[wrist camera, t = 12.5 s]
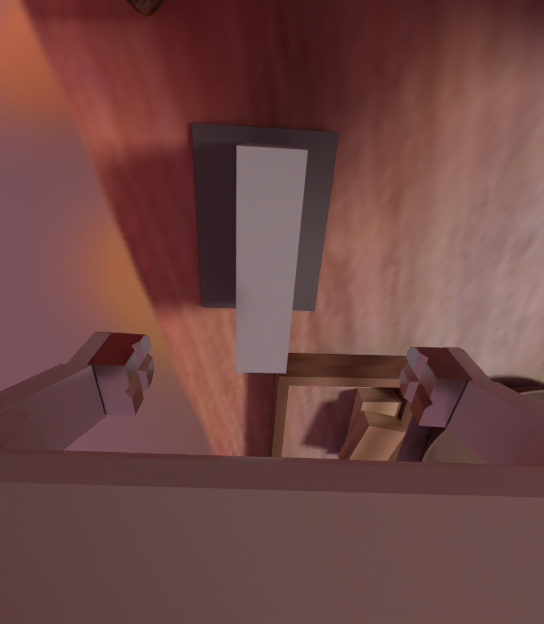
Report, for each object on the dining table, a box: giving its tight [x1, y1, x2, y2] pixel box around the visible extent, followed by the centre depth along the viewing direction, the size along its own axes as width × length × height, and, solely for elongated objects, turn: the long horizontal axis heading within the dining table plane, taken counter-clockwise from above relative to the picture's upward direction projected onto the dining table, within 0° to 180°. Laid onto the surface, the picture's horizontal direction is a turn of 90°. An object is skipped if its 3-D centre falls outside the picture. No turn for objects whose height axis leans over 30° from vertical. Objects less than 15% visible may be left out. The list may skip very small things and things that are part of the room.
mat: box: [192, 122, 339, 311], centre depth 25 cm, size 10×14×1 cm
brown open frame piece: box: [269, 353, 413, 461], centre depth 34 cm, size 14×18×4 cm
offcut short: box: [338, 410, 406, 461], centre depth 34 cm, size 4×7×2 cm, turn 164°
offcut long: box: [345, 388, 402, 442], centre depth 36 cm, size 4×10×2 cm, turn 177°
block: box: [236, 142, 308, 373], centre depth 21 cm, size 3×12×10 cm, turn 177°
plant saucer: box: [420, 386, 544, 464], centre depth 37 cm, size 21×21×3 cm
